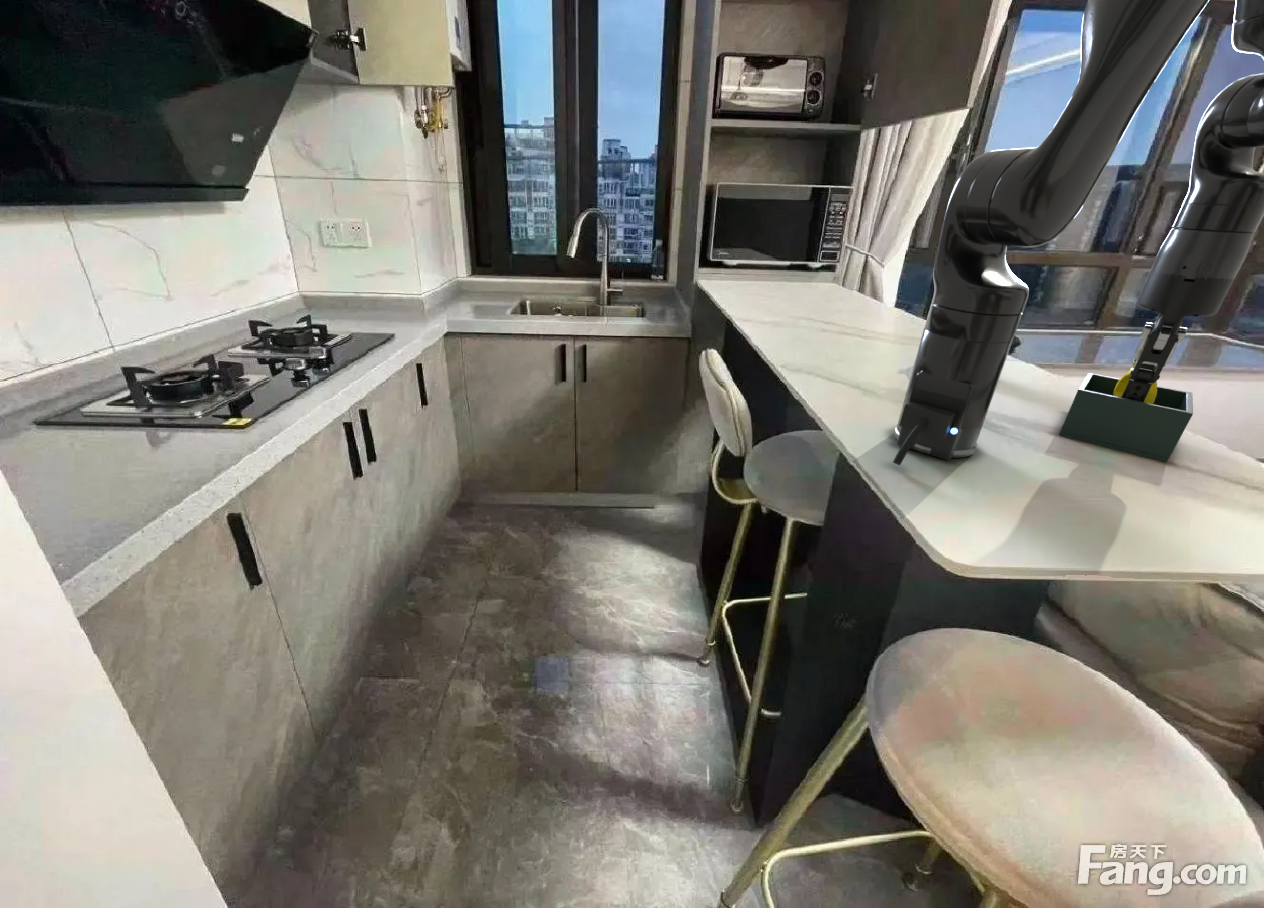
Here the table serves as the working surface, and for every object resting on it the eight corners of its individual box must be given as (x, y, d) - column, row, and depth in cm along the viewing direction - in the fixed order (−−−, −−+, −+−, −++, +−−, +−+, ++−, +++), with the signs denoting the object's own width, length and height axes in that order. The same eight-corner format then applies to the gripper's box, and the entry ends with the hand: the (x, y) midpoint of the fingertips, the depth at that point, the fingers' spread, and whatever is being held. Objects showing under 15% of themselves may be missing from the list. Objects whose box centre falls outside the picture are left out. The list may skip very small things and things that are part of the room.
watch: (1150, 423, 70) (1172, 379, 67) (1126, 420, 70) (1147, 376, 68) (1123, 406, 75) (1143, 365, 73) (1101, 404, 76) (1119, 363, 73)
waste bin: (1166, 462, 67) (1193, 413, 64) (1058, 435, 74) (1078, 389, 71) (1168, 437, 75) (1192, 392, 72) (1070, 414, 81) (1088, 372, 78)
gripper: (1153, 263, 72) (1100, 384, 79) (1148, 271, 62) (1088, 408, 70) (1232, 270, 67) (1167, 397, 75) (1240, 280, 58) (1165, 425, 65)
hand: (1129, 402), depth 72 cm, fingers closed on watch, 5 cm apart
